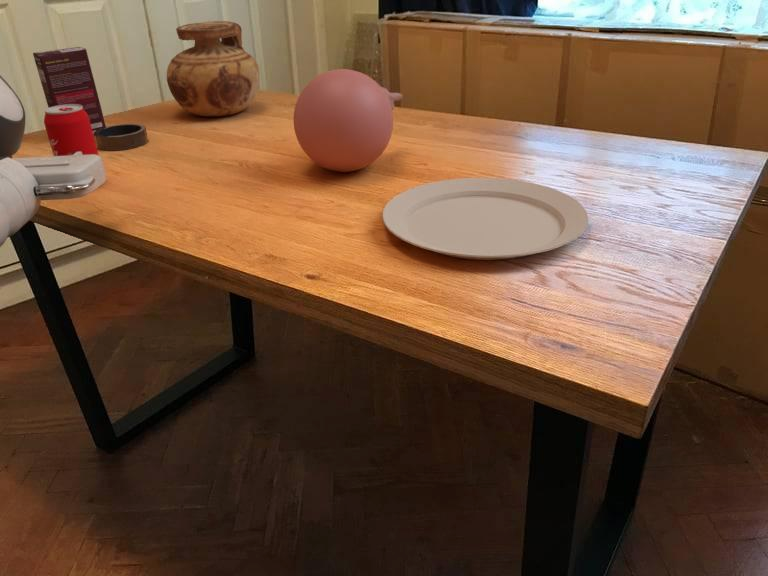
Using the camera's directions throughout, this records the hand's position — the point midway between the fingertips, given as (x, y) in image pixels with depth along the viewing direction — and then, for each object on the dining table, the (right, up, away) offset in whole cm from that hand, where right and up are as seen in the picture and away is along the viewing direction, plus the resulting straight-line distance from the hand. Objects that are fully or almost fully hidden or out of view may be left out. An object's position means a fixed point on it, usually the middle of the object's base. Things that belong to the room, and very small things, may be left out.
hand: (43, 158), depth 90 cm
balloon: (+42, +2, +17) cm, 46 cm away
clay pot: (+11, +20, +52) cm, 57 cm away
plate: (+59, -10, -6) cm, 60 cm away
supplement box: (-13, +12, +40) cm, 43 cm away
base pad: (-2, +9, +33) cm, 35 cm away
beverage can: (0, -2, +13) cm, 14 cm away
